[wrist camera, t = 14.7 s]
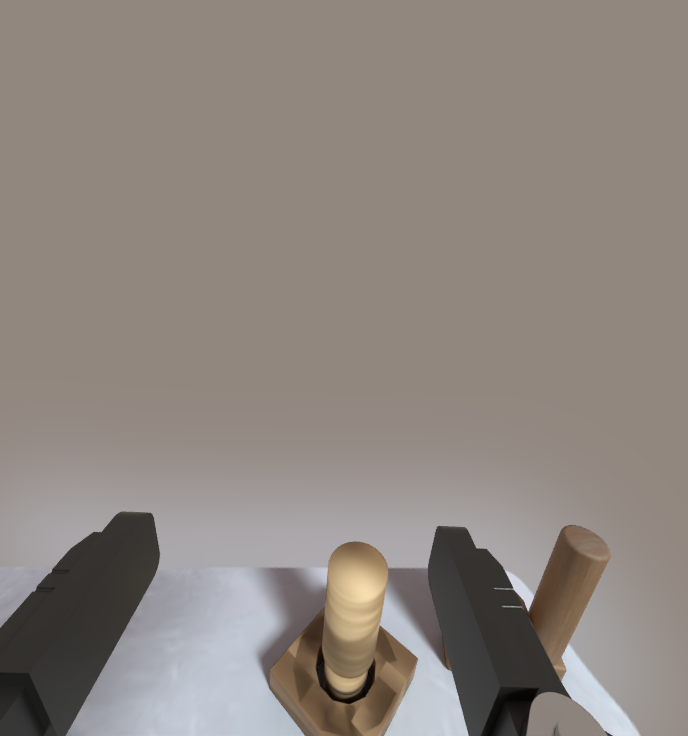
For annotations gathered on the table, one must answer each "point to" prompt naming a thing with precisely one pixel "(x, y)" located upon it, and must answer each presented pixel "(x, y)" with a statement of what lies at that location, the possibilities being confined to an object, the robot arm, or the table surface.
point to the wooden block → (565, 590)
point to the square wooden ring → (331, 718)
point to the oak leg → (352, 618)
